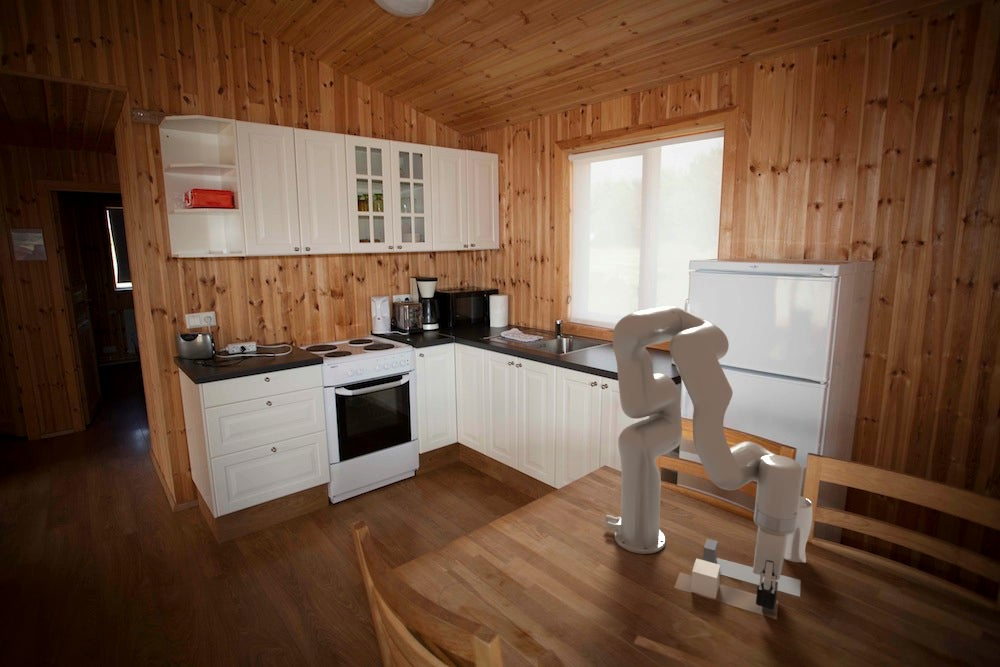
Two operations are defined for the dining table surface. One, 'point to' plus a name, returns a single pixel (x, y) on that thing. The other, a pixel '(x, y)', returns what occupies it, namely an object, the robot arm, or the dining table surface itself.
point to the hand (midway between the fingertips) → (766, 591)
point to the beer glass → (800, 532)
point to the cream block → (705, 578)
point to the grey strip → (746, 571)
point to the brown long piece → (731, 596)
